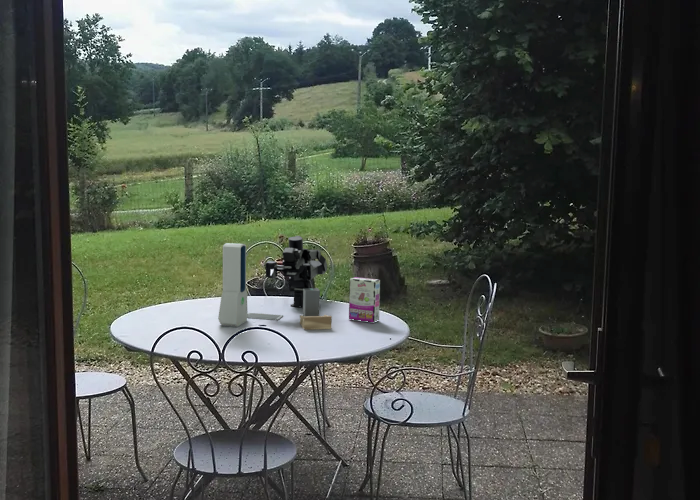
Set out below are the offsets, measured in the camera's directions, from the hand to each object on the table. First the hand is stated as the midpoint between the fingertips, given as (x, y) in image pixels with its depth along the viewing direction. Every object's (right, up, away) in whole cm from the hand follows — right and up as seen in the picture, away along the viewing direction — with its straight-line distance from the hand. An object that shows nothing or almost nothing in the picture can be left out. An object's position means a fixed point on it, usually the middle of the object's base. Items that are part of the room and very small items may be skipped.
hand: (282, 278), depth 287 cm
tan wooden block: (+13, -18, -8) cm, 23 cm away
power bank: (+11, -16, +1) cm, 20 cm away
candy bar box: (+31, -17, +3) cm, 36 cm away
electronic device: (-18, -17, -7) cm, 25 cm away
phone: (-8, -16, +4) cm, 18 cm away
